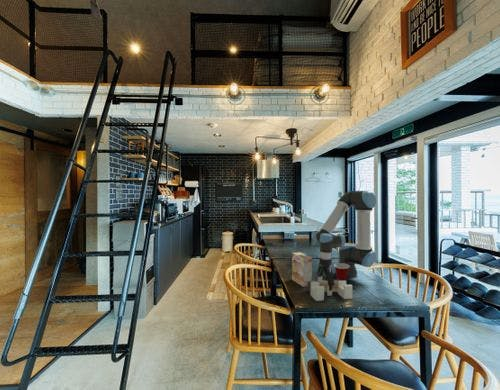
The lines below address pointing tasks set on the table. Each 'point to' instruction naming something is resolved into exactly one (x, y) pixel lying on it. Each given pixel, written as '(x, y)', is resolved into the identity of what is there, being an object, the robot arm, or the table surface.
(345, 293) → the foot post
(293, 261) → the coffeecake box
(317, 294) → the head post
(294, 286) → the table surface
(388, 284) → the table surface
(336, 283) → the rail
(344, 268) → the plastic cup
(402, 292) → the table surface
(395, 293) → the table surface
